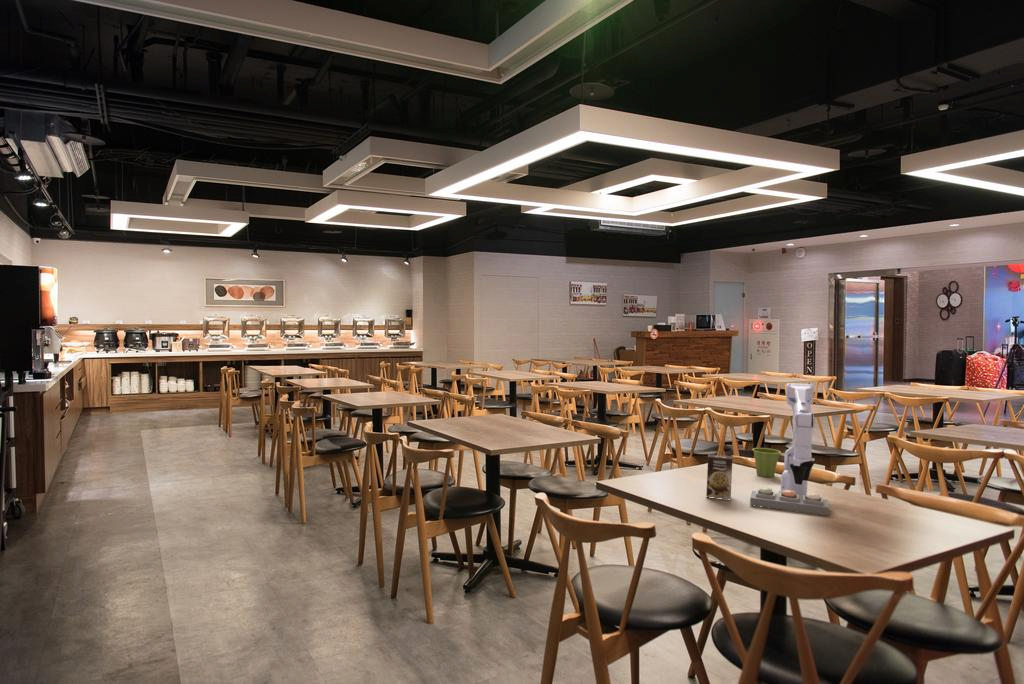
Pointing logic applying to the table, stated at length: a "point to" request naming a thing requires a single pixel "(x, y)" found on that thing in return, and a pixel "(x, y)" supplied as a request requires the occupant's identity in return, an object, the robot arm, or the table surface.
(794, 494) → the terracotta button
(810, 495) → the cream button
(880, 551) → the table surface
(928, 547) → the table surface
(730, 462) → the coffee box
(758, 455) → the plant pot
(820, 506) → the button panel
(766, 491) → the sage button
